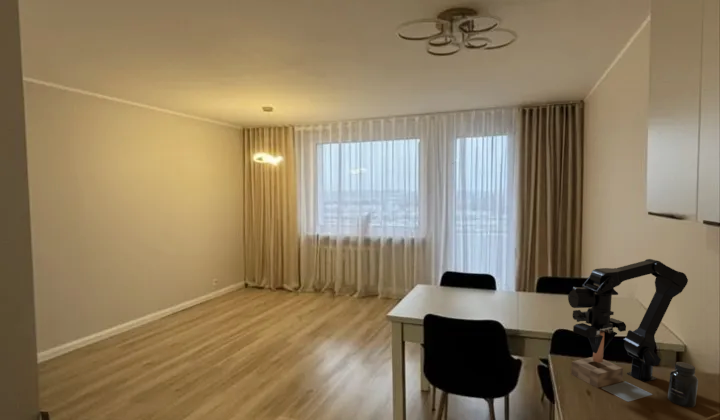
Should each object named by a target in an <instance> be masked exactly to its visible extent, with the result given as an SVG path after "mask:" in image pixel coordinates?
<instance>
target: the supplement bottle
mask: <svg viewBox="0 0 720 420" xmlns="http://www.w3.org/2000/svg"><path fill="white" fill-rule="evenodd" d="M695 374H696V367H695V365H692V364H690V363H687V362H683V361H677V362H675V365H674V370H671V372H670V373H669V382H668V390H667V399H668V400H669V401H670V402H671V403H672V404H675V405H677V406H681V407H684V408H694V407H696V403H697V393H698V385H699V379H698V377H697V376H696V375H695Z"/></svg>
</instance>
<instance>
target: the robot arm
mask: <svg viewBox="0 0 720 420" xmlns="http://www.w3.org/2000/svg"><path fill="white" fill-rule="evenodd" d="M646 275H651V276H653V277H654V278H655V280H654V286H655V293H654V295H653V296H652V299H651V300H650V303H649V304H648V307H647V309H646V311H645V313H644V315H643V317H642V319H641V320H640V324H639V325H638V327H637V328H635V330H631V329H629V330H628V331H627V333H626V336H625V338H623V341H624V342H623V346H624V349H625V350H626V352H627V355H628V356H630V357H631V358H632V360H631V366H630V367H631V368H630V369H631V371H629V372H627V373H626V375H628V376H631V377H632V378H635V379H637V380H639V381H641V382H644V383H648V382H651V381H652V382H653V381H654V380H657V377H656V376H653V368H654V367H656V366H659V365H660V362H661V360H662V359H661V358H660V356H658V355H657V354H656V353H655V349H656V339H655V335H656V333H657V331H658V329H659V327H660V325H661V323H662V321H663V319H664V316H665V314H666V313H667V311H668V308H669V306H670V304H671V302H672V300H673V298H675V297H676V296H678V295H679V294H681V293H682V292H683V291H684V290H685V288H686V286H687V285H688V282H689V279H688V277H687V275H686V273H684V272H682V271H678V270H675V269H674V268H672V267H670V266H667V265H666V264H665V263H663V262H661V261H660V260H657V259H652V258H647V259H645V260H643V261H638V262H635V263H631V264H626V265H623V266H620V267H614V268H613V267H612V268H611V267H603V268H601V267H600V268H595V269H593V270H592V271H591V273H590V275H589V277H587V279H586V280H585V281H584V283H582V285H581V287H579V286H578V287H577V286H573V287H572V290H570V292H569V293H568V295H567V300H568V303H569V306H570V307H571V308H572V309H573V308H574V309H575V310H573V311H572V319H573V320H574V321H576V322H577V323H575V324H574V325H573V327H572V332H573V333H574V334H577V335H580V336H582V337H585V338H587V339H588V341H589V343H590V344H589V345H590V347H591V351H592V353H593V352H594V353H597V351H598V349H599V346H600V343H601V341H602V338H603V336H601V335H600V331H603V332H604V333H605V335H604V351H605V350H606V349H607V347H608V346H609V344H610V342H611V341H613V339H614V338H615V336H617V335H618V332H626V329H627V325H626V323H625V322H624V321H621V320H619V319H616V318H613V317H611V316H614V313H615V312H614V311H612V297H613V296H618V295H619V292H618V291H616V290H615V288H616V287H619V286H620V285H621V284H622V282H625V281H629V280H632V279H636V278H641V277H643V276H646ZM577 309H578V310H577ZM581 309H587V311H581ZM580 322H581V323H580ZM584 322H585V323H584ZM615 328H616V329H617V330H618V332H616V331H614V329H615Z"/></svg>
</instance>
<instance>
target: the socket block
mask: <svg viewBox="0 0 720 420" xmlns="http://www.w3.org/2000/svg"><path fill="white" fill-rule="evenodd" d="M623 372H624V368H623V367H622V366H619V365H617V364H615V363H612V362H611V361H609V360H606V359H604V358H603V362H601V363H600V362H595V361H593V356H591V357H585V358H581V359H577V360H573V361H571V368H570V374H571V375H572V376H573V377H574V378H578V379H579V380H581V381H583V382H585V383H587V384H589V385H590V386H592V387H595V388H596V389H597V388H602V387H606V386H610V385H614V384H618V383H621V382H623V377H624V376H623V374H624V373H623Z"/></svg>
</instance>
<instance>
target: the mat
mask: <svg viewBox="0 0 720 420" xmlns="http://www.w3.org/2000/svg"><path fill="white" fill-rule="evenodd" d="M601 389H602V390H604V391H606V392H607V393H610V394H612V395H614V396H616V397H618V398H620V399H621V400H623V401H625V402H633V401H635V400H639V399H644V398H646V397H650V396H652V395H653V393H651V392H649V391H646V390H645V389H642V388H641V387H638V386H636V385H634V384H633V383H629V382H628V381H622V382H618V383H614V384H610V385H606V386H602V387H601Z"/></svg>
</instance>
